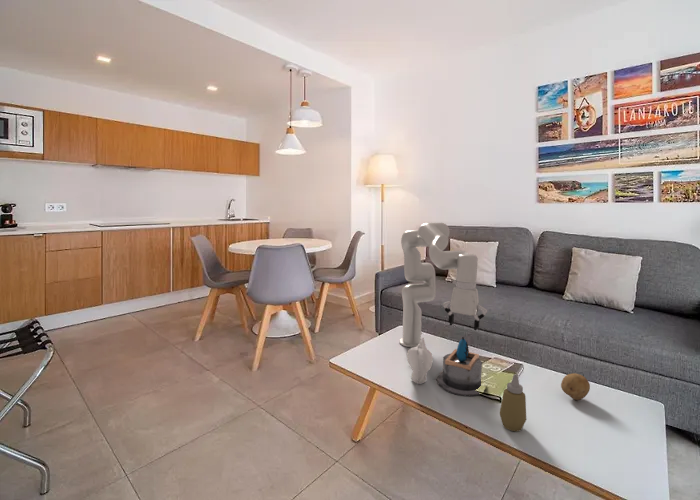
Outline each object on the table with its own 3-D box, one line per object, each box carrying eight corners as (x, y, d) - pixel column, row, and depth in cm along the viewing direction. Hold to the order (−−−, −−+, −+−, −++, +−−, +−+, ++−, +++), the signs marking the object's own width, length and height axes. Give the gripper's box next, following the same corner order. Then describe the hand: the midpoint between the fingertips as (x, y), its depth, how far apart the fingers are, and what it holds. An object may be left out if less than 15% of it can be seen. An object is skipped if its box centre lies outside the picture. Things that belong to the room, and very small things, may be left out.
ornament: (467, 365, 140) (468, 341, 139) (454, 363, 142) (456, 339, 141) (469, 357, 148) (470, 334, 146) (457, 355, 150) (458, 332, 148)
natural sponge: (569, 405, 131) (571, 380, 130) (555, 392, 140) (557, 368, 138) (593, 405, 131) (596, 380, 130) (578, 392, 140) (580, 368, 138)
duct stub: (445, 369, 159) (446, 344, 158) (490, 380, 149) (492, 354, 147) (430, 387, 143) (431, 360, 142) (479, 401, 133) (481, 372, 132)
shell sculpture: (417, 388, 142) (419, 345, 140) (405, 379, 149) (406, 338, 147) (433, 384, 146) (435, 342, 144) (421, 375, 153) (422, 335, 151)
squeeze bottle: (520, 419, 122) (523, 370, 120) (529, 435, 114) (533, 381, 112) (495, 418, 123) (499, 368, 121) (503, 433, 115) (506, 380, 113)
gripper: (441, 284, 142) (439, 325, 145) (486, 290, 133) (483, 334, 136) (447, 280, 149) (445, 319, 151) (491, 286, 139) (488, 328, 142)
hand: (463, 326), depth 143 cm, fingers open, 9 cm apart
